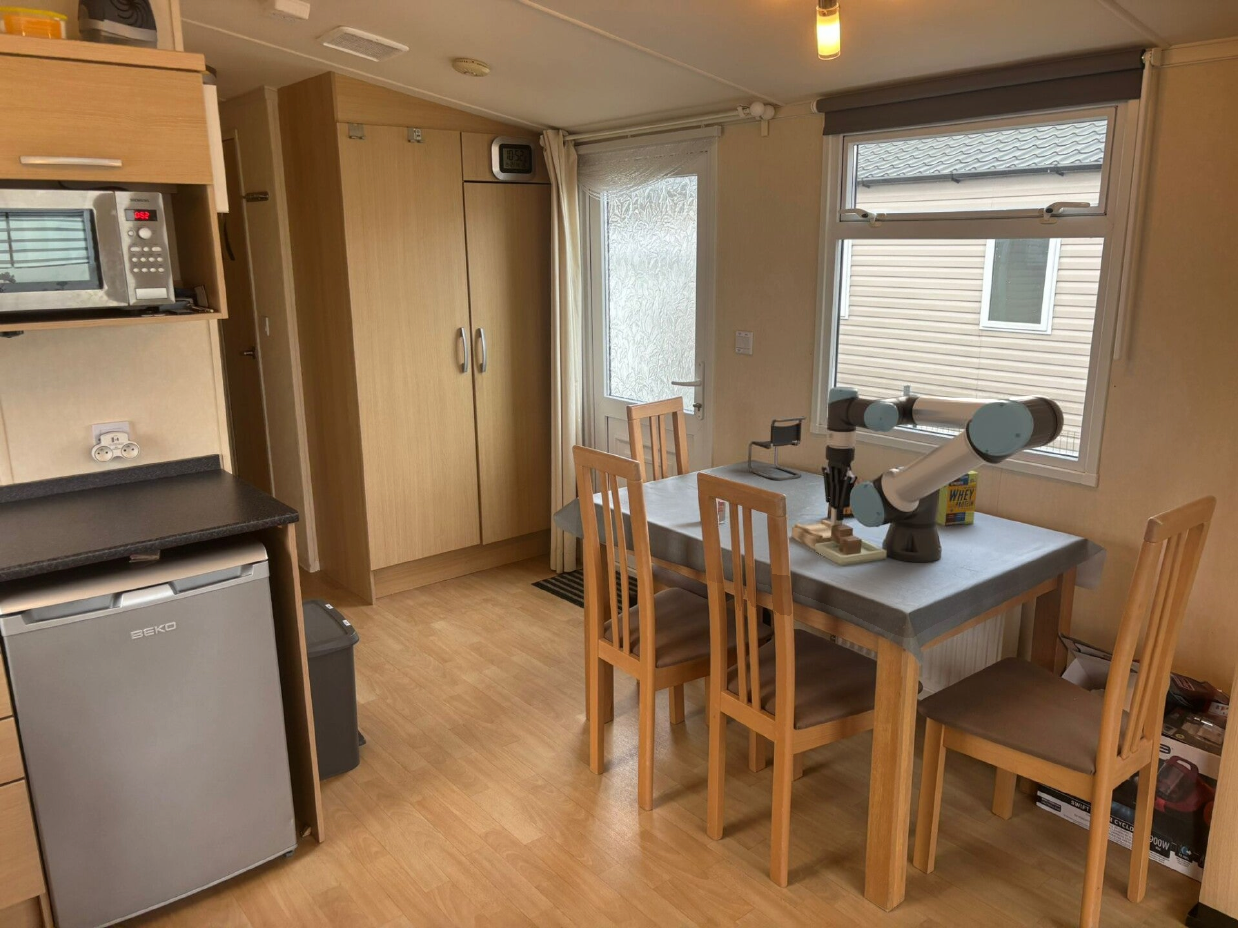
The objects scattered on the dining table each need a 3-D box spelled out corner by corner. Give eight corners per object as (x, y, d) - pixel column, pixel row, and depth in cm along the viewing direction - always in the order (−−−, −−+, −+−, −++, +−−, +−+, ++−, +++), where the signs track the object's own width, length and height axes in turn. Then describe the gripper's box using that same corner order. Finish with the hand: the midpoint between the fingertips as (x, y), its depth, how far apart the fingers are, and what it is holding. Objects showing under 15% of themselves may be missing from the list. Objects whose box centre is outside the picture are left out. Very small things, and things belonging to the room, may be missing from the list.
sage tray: (886, 558, 238) (886, 550, 238) (841, 565, 233) (841, 557, 233) (857, 545, 249) (858, 537, 249) (814, 551, 244) (815, 543, 243)
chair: (775, 481, 317) (778, 419, 312) (747, 471, 332) (749, 411, 327) (805, 477, 322) (808, 416, 317) (776, 467, 337) (778, 408, 332)
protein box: (944, 526, 266) (949, 475, 262) (912, 512, 280) (916, 463, 276) (974, 523, 269) (979, 472, 265) (941, 509, 283) (945, 461, 280)
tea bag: (699, 521, 271) (700, 489, 268) (720, 520, 272) (721, 487, 270) (703, 525, 267) (704, 492, 265) (725, 523, 269) (726, 490, 266)
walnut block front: (851, 548, 243) (860, 553, 240) (839, 550, 242) (848, 555, 238) (852, 534, 242) (861, 539, 239) (839, 536, 241) (849, 540, 237)
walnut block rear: (852, 542, 243) (853, 528, 242) (839, 544, 242) (840, 529, 241) (843, 537, 247) (844, 523, 246) (830, 539, 245) (831, 525, 244)
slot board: (852, 544, 250) (853, 531, 249) (815, 549, 245) (816, 536, 244) (827, 532, 260) (827, 519, 259) (791, 537, 256) (791, 524, 255)
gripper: (814, 442, 245) (810, 525, 251) (843, 451, 233) (838, 539, 239) (837, 439, 248) (833, 522, 253) (867, 449, 236) (862, 535, 242)
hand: (836, 530), depth 246 cm, fingers closed
